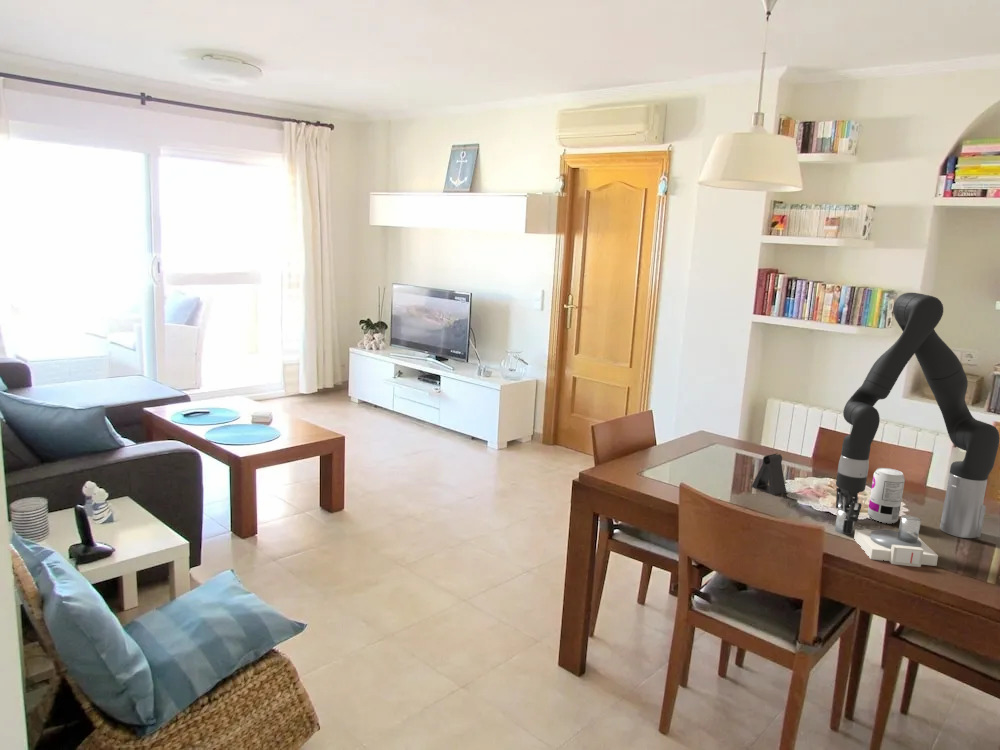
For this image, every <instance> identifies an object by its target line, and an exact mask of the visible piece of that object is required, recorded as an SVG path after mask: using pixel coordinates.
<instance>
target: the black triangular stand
mask: <svg viewBox="0 0 1000 750" xmlns="http://www.w3.org/2000/svg"><path fill="white" fill-rule="evenodd" d="M782 460H783V456H782V454H779V453H773V454H767V455H764V456H763V458H762V464H761V466H760V468H759V470H758V473H757V475H756V476H755V478H754V480H753V482H752V485H751V488H753V489H755V490H758V491H761V492H764V493H767V494H769V495H772V496H777V495H781V494H784V493H785V494H786V493H787V488H786V482H785V477H784V470H783V466H782Z"/></svg>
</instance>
